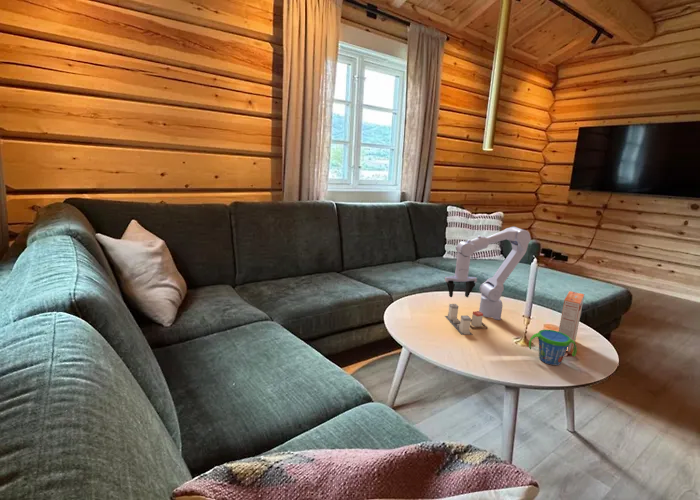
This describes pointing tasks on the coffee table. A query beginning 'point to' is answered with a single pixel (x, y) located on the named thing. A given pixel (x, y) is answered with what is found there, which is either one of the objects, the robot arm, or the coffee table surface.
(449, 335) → the coffee table surface
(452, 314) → the block
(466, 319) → the fuse slot
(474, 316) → the red cap fuse
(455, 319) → the block
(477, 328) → the tray
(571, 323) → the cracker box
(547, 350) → the snack cup
